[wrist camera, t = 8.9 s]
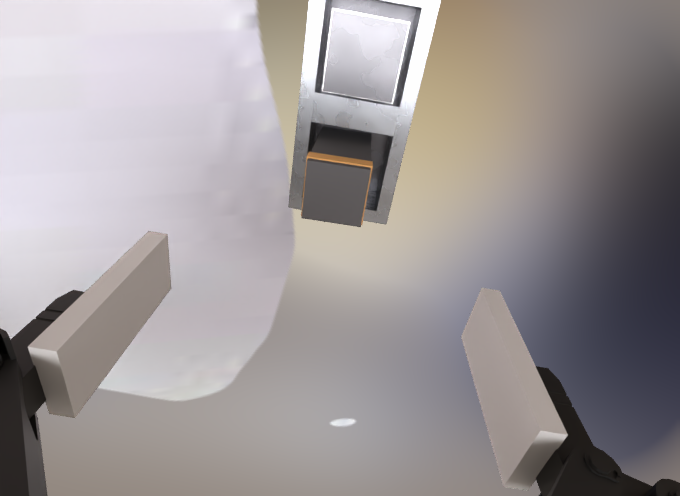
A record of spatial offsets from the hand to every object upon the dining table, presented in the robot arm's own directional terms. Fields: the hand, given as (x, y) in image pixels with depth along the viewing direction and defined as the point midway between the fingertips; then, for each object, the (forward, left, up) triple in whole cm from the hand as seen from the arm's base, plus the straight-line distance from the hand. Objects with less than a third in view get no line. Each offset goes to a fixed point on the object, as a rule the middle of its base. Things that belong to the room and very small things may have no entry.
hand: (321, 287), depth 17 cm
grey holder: (0, +4, -20) cm, 21 cm away
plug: (0, 0, -19) cm, 19 cm away
